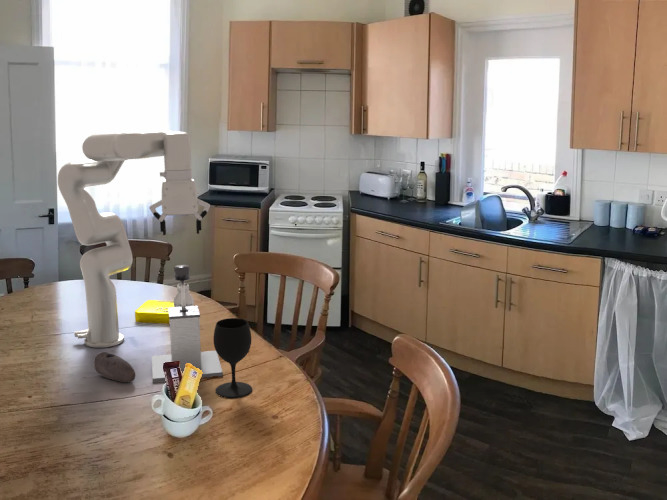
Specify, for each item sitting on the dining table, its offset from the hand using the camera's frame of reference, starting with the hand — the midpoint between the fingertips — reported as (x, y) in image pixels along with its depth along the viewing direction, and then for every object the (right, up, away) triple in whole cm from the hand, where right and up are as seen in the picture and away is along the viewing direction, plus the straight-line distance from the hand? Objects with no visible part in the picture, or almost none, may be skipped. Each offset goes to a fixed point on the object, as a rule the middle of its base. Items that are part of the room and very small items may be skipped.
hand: (181, 233), depth 216 cm
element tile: (-19, -30, +54) cm, 64 cm away
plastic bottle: (-4, -36, +27) cm, 45 cm away
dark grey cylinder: (0, -29, +4) cm, 29 cm away
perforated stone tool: (-18, -43, -1) cm, 47 cm away
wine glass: (+17, -45, -9) cm, 48 cm away
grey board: (0, -40, +7) cm, 41 cm away
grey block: (0, -39, +8) cm, 40 cm away
